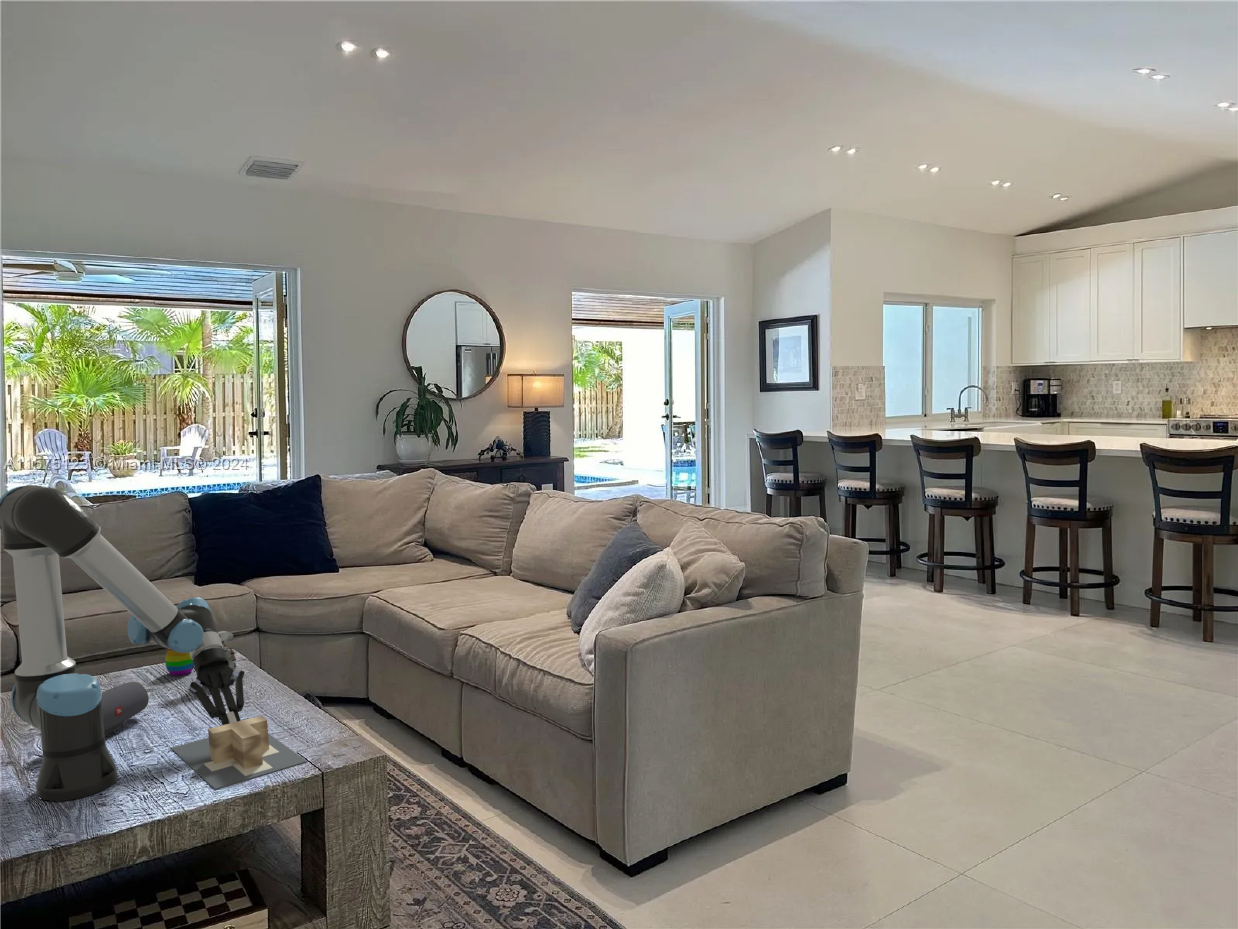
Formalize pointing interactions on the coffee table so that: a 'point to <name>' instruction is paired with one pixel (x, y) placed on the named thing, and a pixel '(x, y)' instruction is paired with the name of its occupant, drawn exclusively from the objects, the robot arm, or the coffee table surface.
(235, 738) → the t block
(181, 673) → the decorative egg
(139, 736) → the coffee table surface
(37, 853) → the coffee table surface
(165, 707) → the coffee table surface
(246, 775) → the mat
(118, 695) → the bluetooth speaker
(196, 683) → the robot arm
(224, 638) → the figurine
